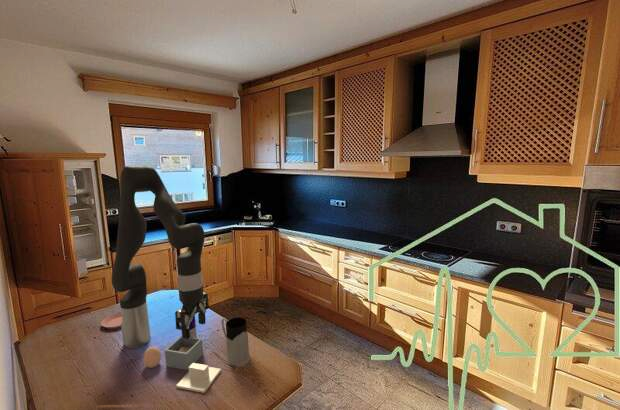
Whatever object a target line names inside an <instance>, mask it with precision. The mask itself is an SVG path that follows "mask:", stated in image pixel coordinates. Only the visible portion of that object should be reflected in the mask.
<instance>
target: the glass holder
mask: <svg viewBox="0 0 620 410" xmlns="http://www.w3.org/2000/svg"><path fill="white" fill-rule="evenodd" d="M224 321H225V323H224ZM247 322H248V321H247V319H246V318H245V317H241V316H240V317H232V318H229V319H227V317H224V318H222V319H221V327H222V331H223V334H224V337H225V339H226V340H225V341H226V351H227V352H226V353H227V354H226V355H227V359H226V362H227V363H228V364H229V365H231V366H235V367H236V368H240V367H243V366H245V365H247V364H248V363H249V362H250V360H251V354H250V350H249V335H248V334H249V333H248V325H247V324H248V323H247Z"/></svg>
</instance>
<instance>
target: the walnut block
mask: <svg viewBox="0 0 620 410" xmlns="http://www.w3.org/2000/svg"><path fill="white" fill-rule="evenodd" d="M191 348H192V347H181V348H180V350H179V352H185V353H187V352H188V351H189V350H190V349H191Z"/></svg>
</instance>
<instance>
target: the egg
mask: <svg viewBox="0 0 620 410" xmlns="http://www.w3.org/2000/svg"><path fill="white" fill-rule="evenodd" d="M142 359H143V360H142V361H143V363H144V366H145V367H147V368H151V369H152V368H155V367H157V366H158V365H159V364H160V362H161V360H162V354H161V350H160V349H159V348H157V347H156V346H150V347H148V348H147V349H146V350H145V352H144V354H143V358H142Z"/></svg>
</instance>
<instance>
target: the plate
mask: <svg viewBox="0 0 620 410" xmlns="http://www.w3.org/2000/svg"><path fill="white" fill-rule="evenodd" d="M121 323H122V314H121V311H117V312H115V313H112V314H109V315H107V316H106V317H104V318H103V319H102V320H101V322H100V326H101V327H104V328H106V329H111V330H112V329H114V330H115V329H116V330H117V329H121Z"/></svg>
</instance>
